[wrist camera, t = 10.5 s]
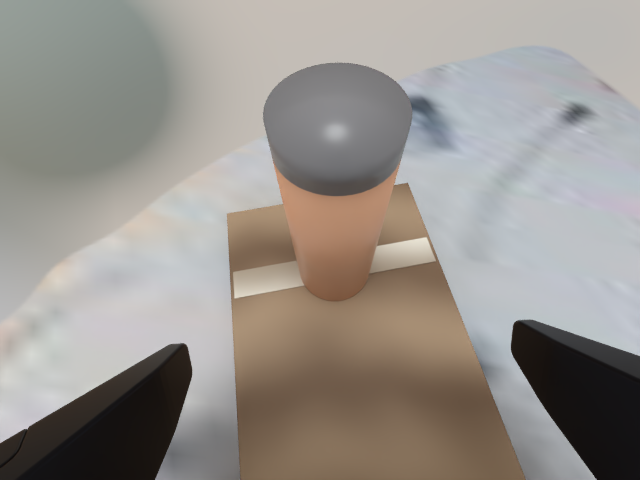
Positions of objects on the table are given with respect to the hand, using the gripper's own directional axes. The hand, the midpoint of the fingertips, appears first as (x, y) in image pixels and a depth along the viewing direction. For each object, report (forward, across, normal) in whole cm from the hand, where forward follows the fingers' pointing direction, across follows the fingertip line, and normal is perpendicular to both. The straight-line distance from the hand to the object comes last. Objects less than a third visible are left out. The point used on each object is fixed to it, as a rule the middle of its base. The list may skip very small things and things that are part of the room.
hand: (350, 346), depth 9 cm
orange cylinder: (+10, 0, +1) cm, 10 cm away
